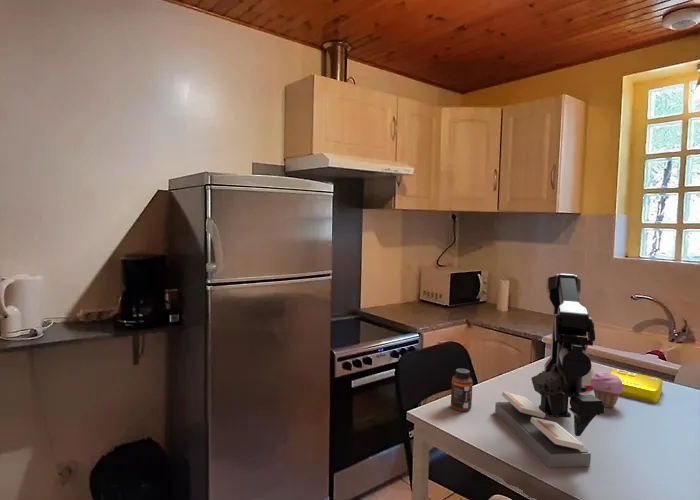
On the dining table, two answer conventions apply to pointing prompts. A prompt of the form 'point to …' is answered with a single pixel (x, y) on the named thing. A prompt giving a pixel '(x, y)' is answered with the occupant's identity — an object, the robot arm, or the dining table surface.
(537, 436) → the grey switch panel
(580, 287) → the robot arm
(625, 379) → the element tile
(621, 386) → the cupcake
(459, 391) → the supplement bottle
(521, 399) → the rocker
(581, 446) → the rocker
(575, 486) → the dining table surface
